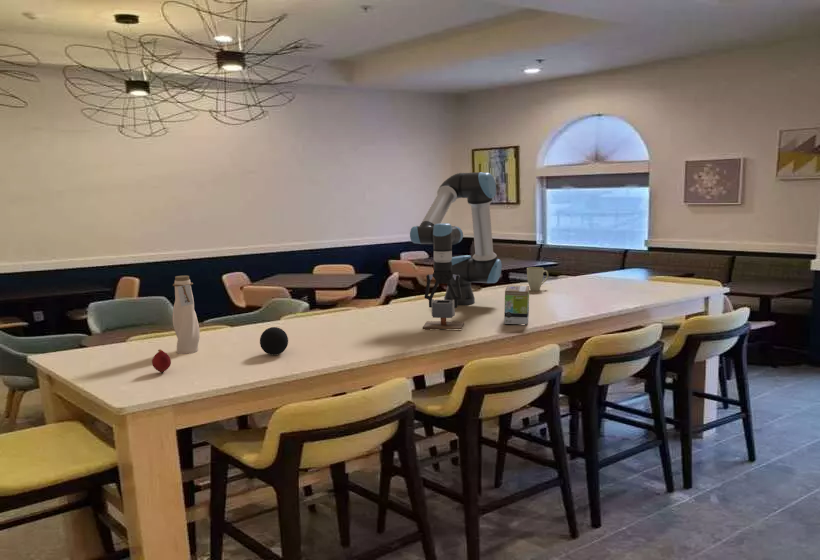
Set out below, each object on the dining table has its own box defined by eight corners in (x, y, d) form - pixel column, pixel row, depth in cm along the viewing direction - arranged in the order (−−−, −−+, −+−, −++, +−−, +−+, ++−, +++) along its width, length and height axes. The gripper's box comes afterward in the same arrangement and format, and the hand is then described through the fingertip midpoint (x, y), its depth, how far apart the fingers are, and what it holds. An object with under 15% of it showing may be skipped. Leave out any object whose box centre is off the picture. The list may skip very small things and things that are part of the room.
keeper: (426, 323, 290) (426, 302, 289) (464, 324, 287) (463, 302, 286) (422, 329, 278) (422, 307, 277) (461, 330, 276) (461, 308, 274)
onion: (166, 369, 228) (164, 346, 226) (175, 372, 224) (173, 348, 222) (149, 373, 223) (147, 349, 222) (158, 376, 219) (156, 352, 218)
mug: (541, 292, 360) (541, 269, 358) (524, 290, 365) (524, 268, 364) (548, 289, 369) (549, 267, 368) (531, 287, 375) (531, 266, 373)
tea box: (528, 325, 282) (528, 290, 280) (503, 325, 284) (503, 290, 282) (529, 318, 296) (529, 285, 294) (506, 317, 298) (506, 284, 296)
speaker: (276, 359, 237) (274, 331, 235) (254, 356, 242) (253, 329, 240) (294, 352, 246) (293, 325, 244) (273, 349, 250) (271, 323, 249)
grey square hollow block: (435, 313, 287) (435, 299, 286) (453, 314, 285) (453, 300, 284) (432, 317, 279) (432, 303, 278) (451, 318, 278) (451, 303, 277)
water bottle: (206, 351, 250) (201, 276, 246) (183, 356, 244) (177, 279, 240) (193, 346, 257) (188, 274, 253) (170, 351, 251) (165, 276, 247)
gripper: (416, 262, 277) (417, 316, 280) (467, 262, 273) (467, 317, 276) (419, 259, 284) (420, 313, 287) (468, 260, 280) (469, 314, 284)
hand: (443, 315), depth 282 cm, fingers closed on grey square hollow block, 8 cm apart
